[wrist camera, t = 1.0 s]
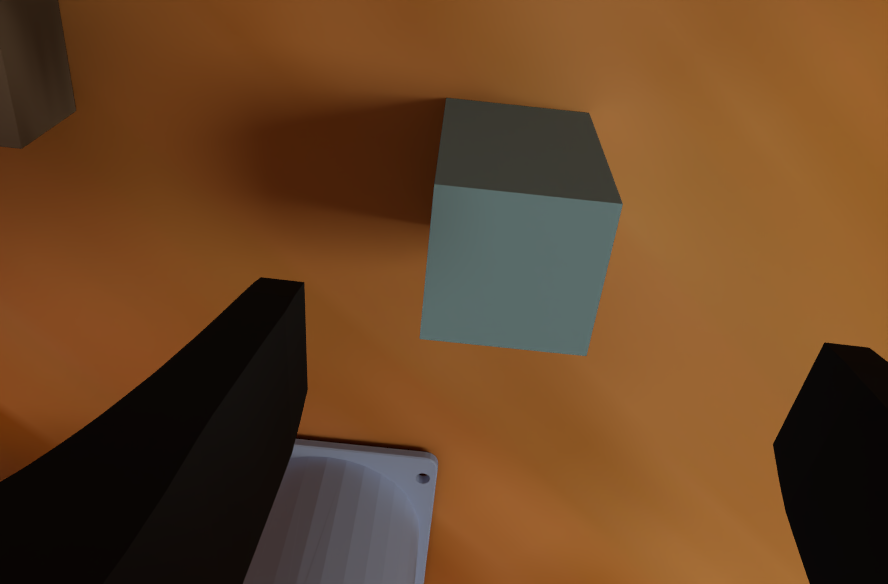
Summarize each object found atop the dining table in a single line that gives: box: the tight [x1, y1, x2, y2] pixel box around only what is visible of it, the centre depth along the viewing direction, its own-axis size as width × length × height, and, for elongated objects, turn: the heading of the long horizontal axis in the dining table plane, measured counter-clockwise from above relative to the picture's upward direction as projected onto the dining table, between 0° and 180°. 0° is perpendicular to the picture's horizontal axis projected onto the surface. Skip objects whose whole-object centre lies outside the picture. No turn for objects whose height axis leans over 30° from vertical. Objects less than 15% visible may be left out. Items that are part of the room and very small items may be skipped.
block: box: [420, 98, 623, 356], centre depth 20 cm, size 4×4×6 cm
